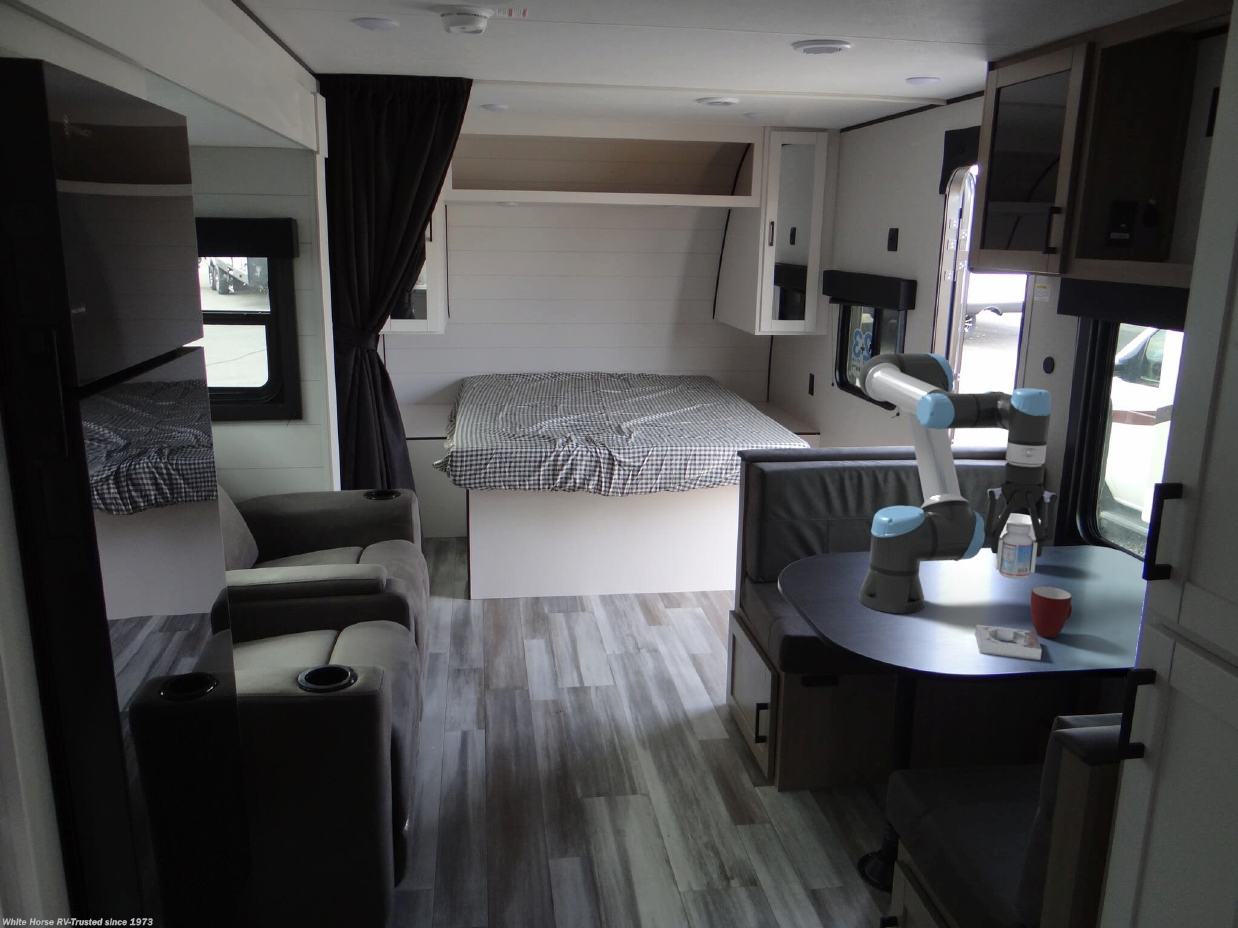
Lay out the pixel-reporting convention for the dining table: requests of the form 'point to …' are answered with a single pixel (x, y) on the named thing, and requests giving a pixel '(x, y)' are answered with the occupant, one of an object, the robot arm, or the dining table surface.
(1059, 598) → the mug
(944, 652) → the dining table surface
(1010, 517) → the cup
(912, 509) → the robot arm
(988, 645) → the block
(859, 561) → the dining table surface
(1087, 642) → the dining table surface
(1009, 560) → the pill bottle
